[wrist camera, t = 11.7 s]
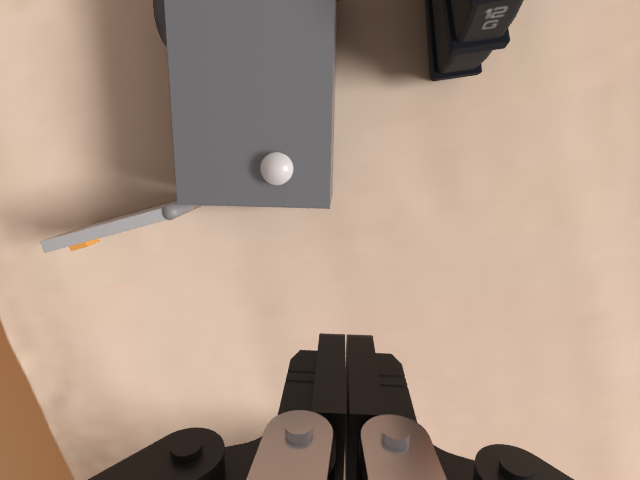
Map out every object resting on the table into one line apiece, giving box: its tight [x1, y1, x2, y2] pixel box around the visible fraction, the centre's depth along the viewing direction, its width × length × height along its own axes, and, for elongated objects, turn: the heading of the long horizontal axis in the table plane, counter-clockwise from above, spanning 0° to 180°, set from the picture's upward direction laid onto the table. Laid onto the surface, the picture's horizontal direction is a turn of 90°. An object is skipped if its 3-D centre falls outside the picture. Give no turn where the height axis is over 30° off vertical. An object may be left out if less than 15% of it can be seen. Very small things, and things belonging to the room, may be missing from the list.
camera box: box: [153, 0, 337, 209], centre depth 34 cm, size 18×14×9 cm
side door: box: [40, 201, 202, 253], centre depth 37 cm, size 12×2×7 cm, turn 105°
